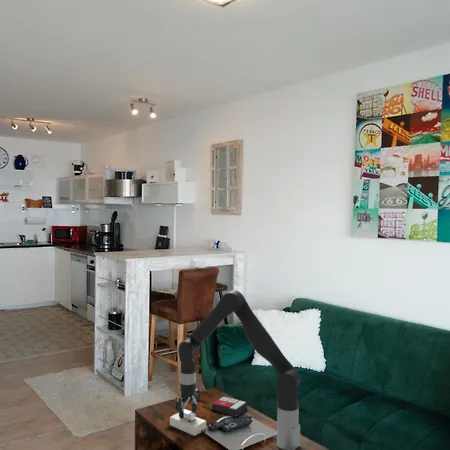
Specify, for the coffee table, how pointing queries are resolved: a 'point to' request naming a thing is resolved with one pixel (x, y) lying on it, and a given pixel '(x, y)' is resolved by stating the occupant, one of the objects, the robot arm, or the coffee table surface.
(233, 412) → the dark red white box
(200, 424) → the cream white box
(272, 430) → the coffee table surface
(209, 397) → the coffee table surface
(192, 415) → the clip
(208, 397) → the coffee table surface
